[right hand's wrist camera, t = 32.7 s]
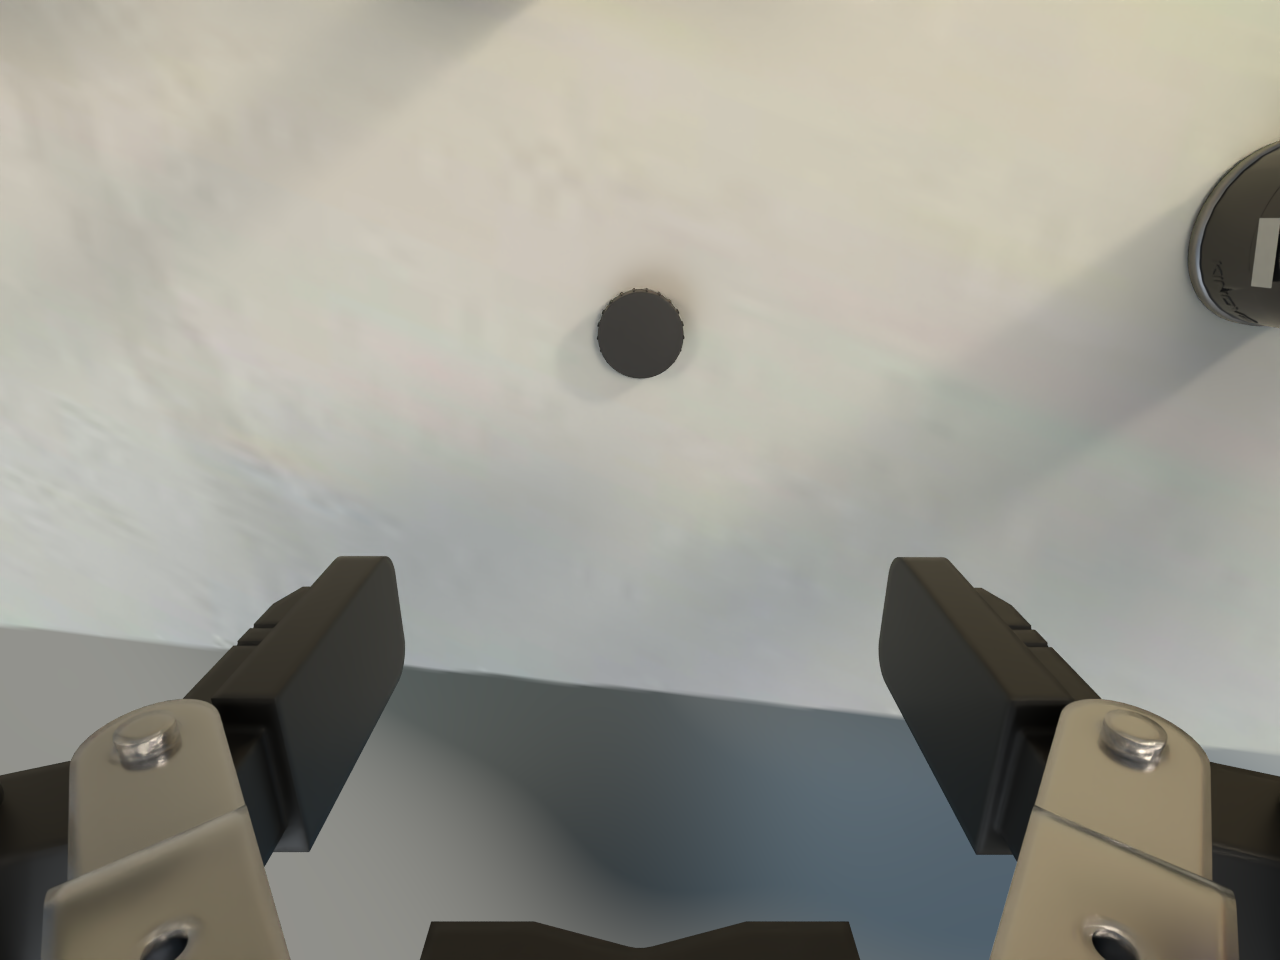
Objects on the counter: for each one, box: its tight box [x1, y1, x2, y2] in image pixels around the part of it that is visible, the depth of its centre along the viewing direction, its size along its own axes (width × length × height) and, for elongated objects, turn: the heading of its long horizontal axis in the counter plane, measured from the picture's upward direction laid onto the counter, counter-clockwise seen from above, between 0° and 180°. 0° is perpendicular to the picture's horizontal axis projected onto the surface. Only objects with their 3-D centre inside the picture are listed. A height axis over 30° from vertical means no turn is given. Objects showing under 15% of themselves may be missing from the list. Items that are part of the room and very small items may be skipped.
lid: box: [597, 288, 684, 378], centre depth 38 cm, size 5×5×2 cm
